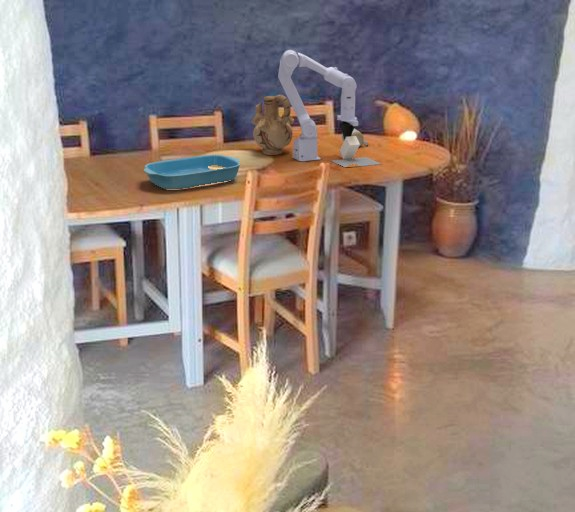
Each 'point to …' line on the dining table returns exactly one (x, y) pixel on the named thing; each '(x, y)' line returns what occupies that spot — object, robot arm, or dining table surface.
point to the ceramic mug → (358, 137)
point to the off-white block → (349, 147)
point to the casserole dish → (192, 171)
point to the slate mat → (356, 162)
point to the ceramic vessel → (273, 125)
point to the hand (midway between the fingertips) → (347, 140)
